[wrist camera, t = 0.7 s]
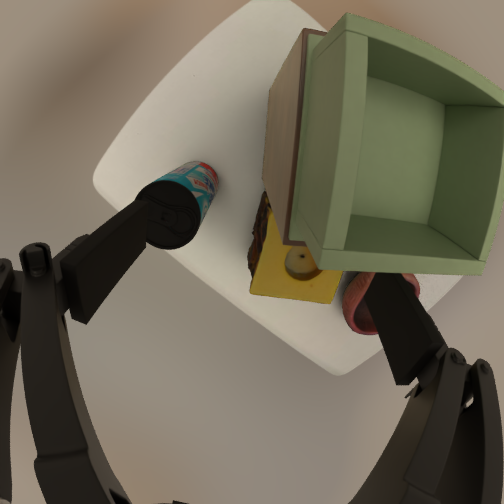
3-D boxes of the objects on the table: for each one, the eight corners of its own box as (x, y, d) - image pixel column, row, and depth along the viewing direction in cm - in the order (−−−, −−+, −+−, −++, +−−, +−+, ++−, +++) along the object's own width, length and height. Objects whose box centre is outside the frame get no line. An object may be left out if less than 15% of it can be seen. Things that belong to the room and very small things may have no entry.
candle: (246, 256, 39) (246, 295, 30) (261, 188, 35) (267, 209, 26) (313, 269, 40) (330, 308, 31) (333, 205, 36) (360, 230, 27)
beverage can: (203, 212, 37) (178, 262, 23) (167, 189, 35) (121, 226, 21) (227, 176, 35) (214, 206, 21) (190, 152, 33) (152, 166, 19)
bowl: (411, 288, 43) (432, 314, 35) (353, 327, 46) (367, 358, 38) (379, 218, 37) (405, 238, 30) (310, 266, 40) (323, 295, 33)
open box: (307, 35, 10) (339, -11, 5) (452, 85, 10) (515, 83, 6) (287, 237, 15) (307, 293, 10) (427, 249, 15) (476, 292, 10)
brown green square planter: (269, 89, 30) (303, 27, 10) (344, 101, 30) (455, 79, 10) (261, 178, 35) (282, 245, 15) (334, 186, 35) (427, 256, 15)
